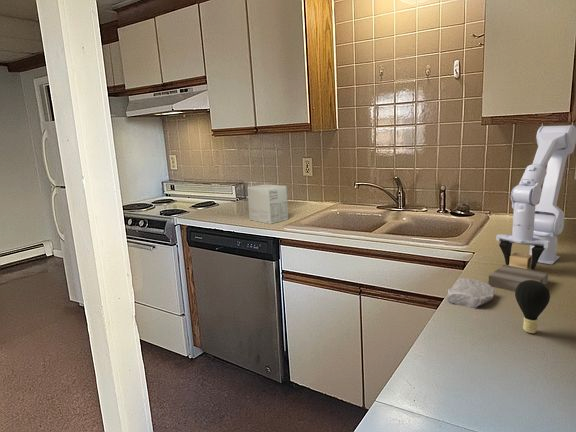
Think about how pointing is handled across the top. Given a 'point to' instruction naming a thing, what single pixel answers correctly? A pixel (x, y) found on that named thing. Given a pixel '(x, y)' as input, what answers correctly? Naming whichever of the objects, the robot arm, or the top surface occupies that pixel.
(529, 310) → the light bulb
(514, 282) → the base block
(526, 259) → the maple cube
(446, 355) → the top surface
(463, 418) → the top surface
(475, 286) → the stone block
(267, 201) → the supplement box
